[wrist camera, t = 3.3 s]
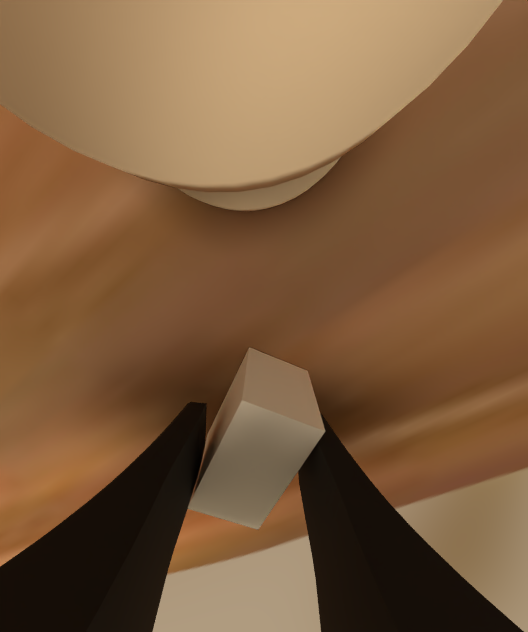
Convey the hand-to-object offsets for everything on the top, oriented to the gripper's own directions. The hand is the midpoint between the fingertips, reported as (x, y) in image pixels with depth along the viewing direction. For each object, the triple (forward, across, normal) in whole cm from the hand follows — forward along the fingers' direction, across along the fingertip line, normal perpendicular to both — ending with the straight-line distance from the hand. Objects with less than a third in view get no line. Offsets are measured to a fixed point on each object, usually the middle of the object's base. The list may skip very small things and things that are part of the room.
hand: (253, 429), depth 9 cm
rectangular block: (+1, 0, 0) cm, 1 cm away
